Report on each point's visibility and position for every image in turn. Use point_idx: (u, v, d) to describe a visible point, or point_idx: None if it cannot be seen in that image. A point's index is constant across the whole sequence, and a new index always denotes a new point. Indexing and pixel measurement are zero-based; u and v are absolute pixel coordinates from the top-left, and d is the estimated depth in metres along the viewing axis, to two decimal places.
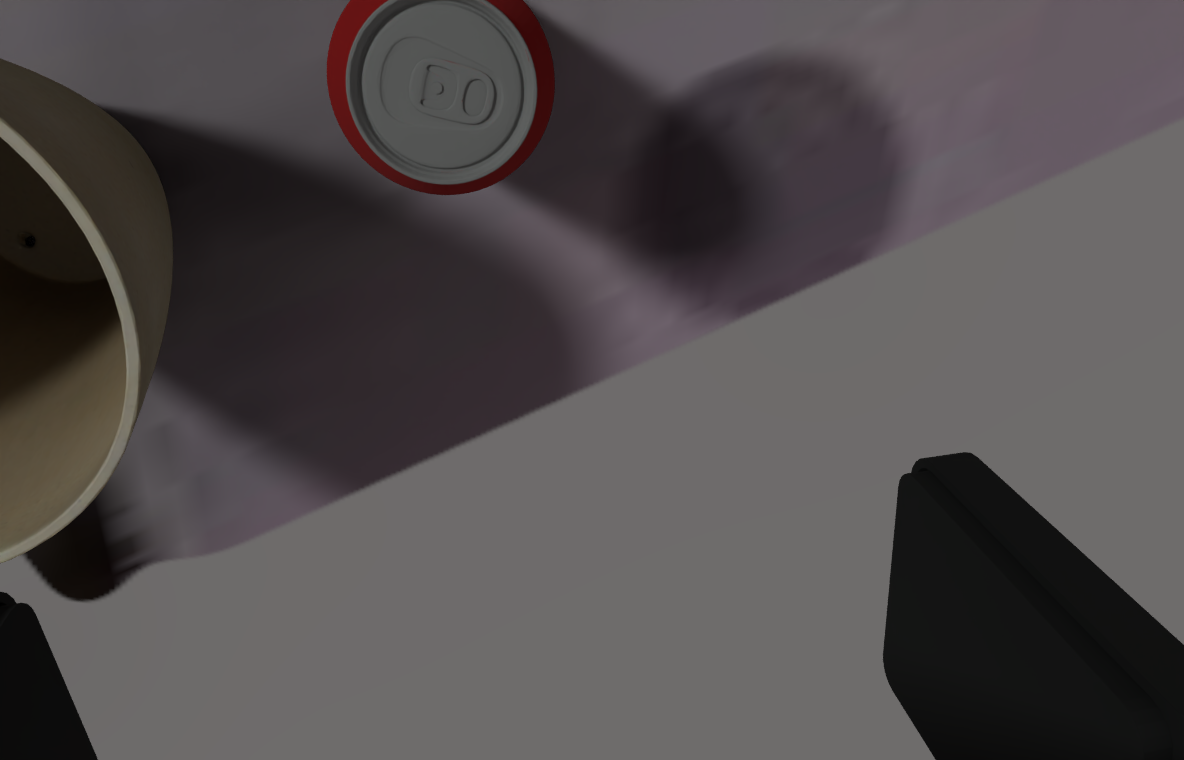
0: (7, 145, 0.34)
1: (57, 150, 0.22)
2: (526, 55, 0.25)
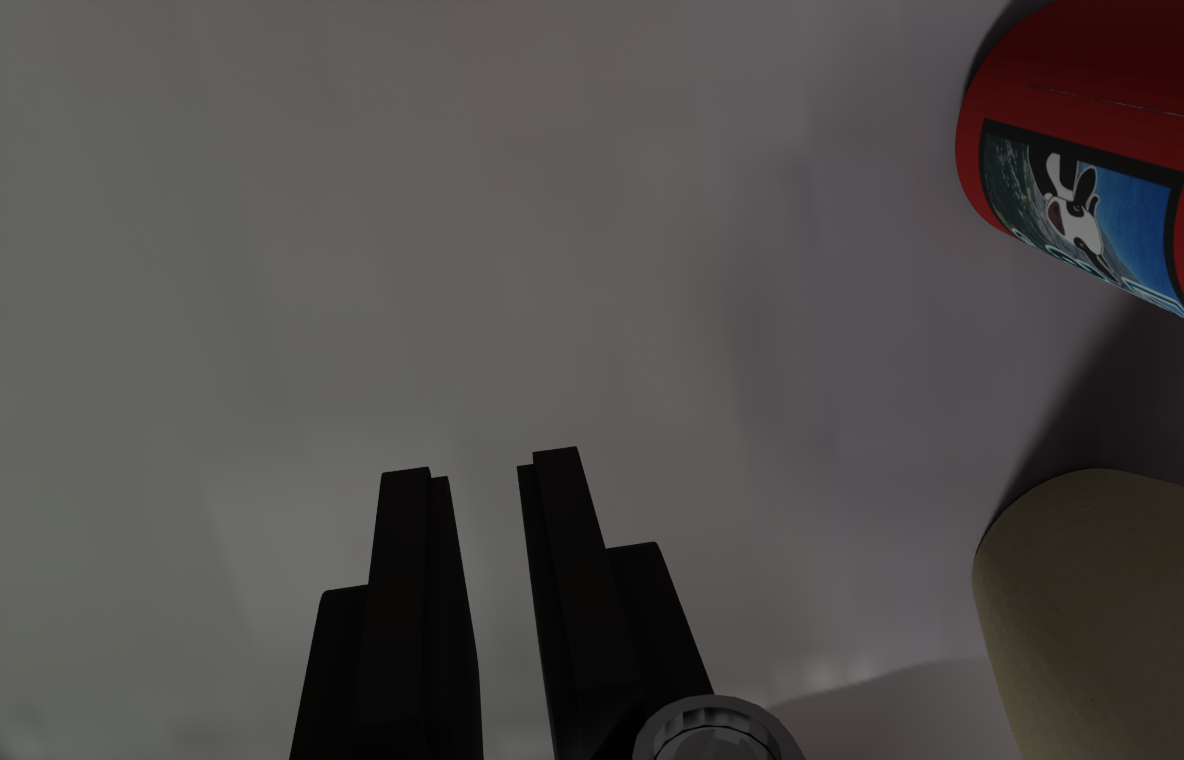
0: None
1: None
2: None
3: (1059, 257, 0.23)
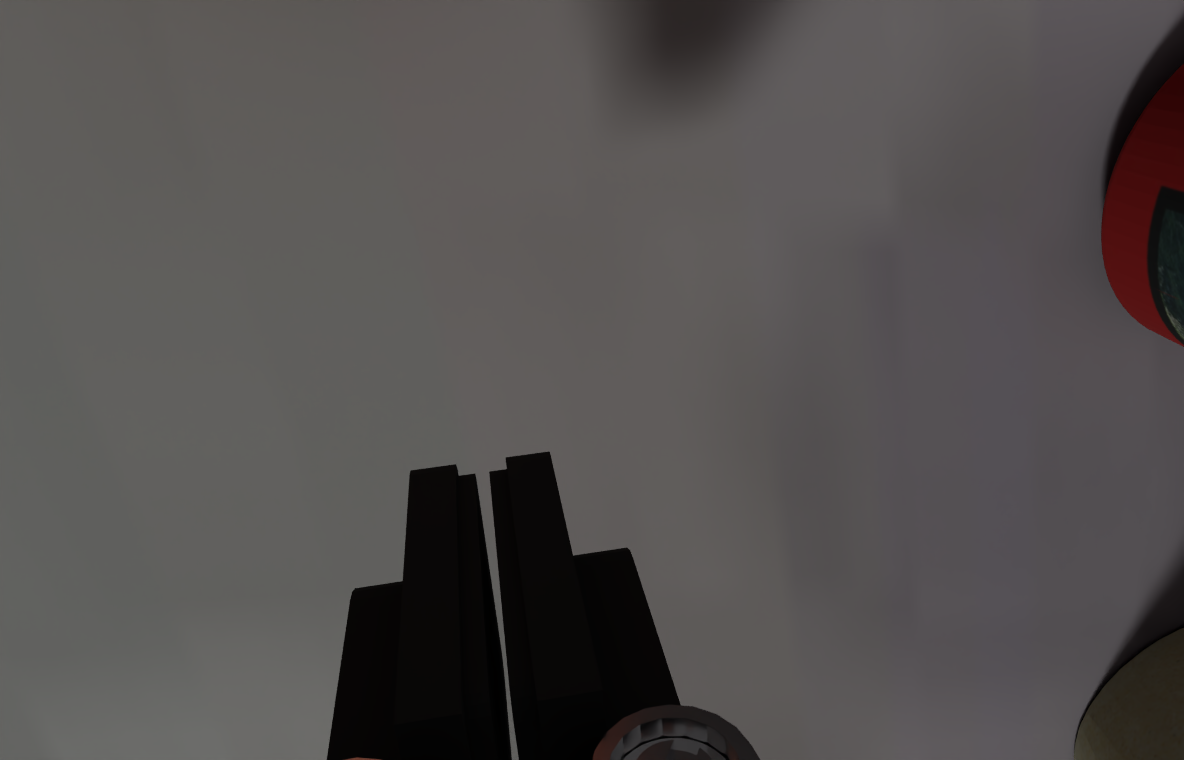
0: None
1: None
2: None
3: None
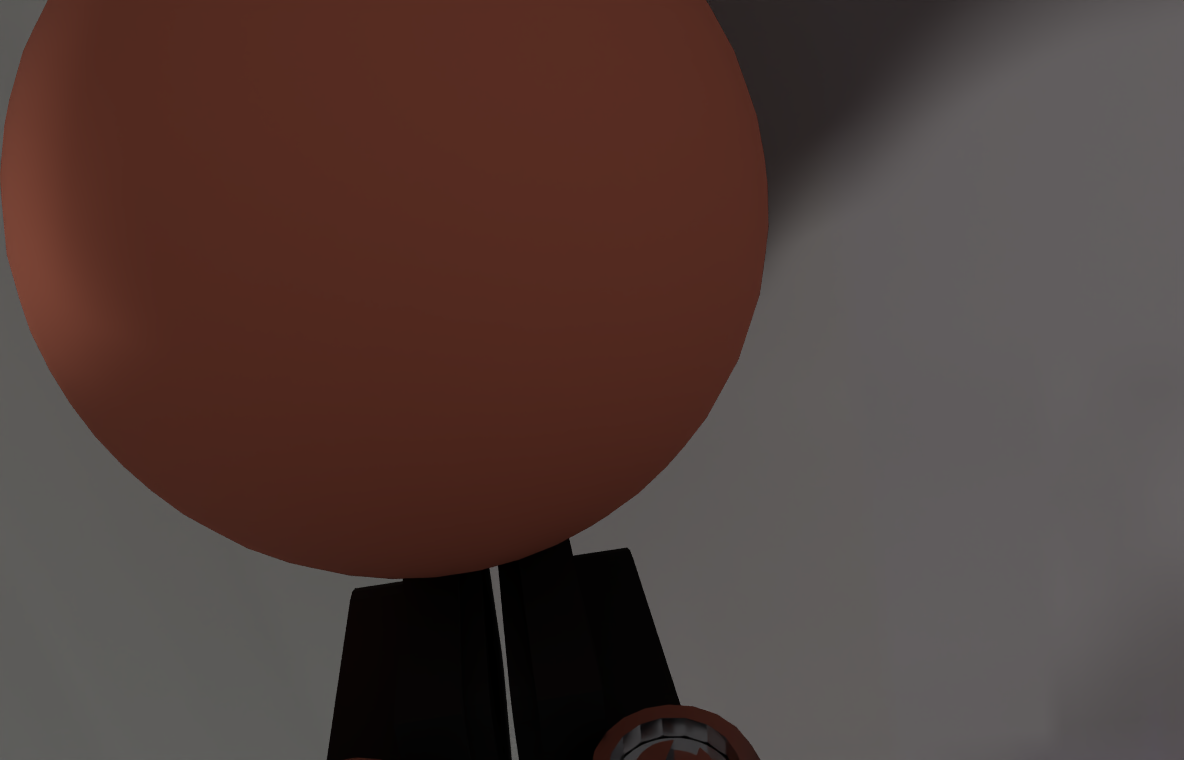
0: None
1: None
2: None
3: None
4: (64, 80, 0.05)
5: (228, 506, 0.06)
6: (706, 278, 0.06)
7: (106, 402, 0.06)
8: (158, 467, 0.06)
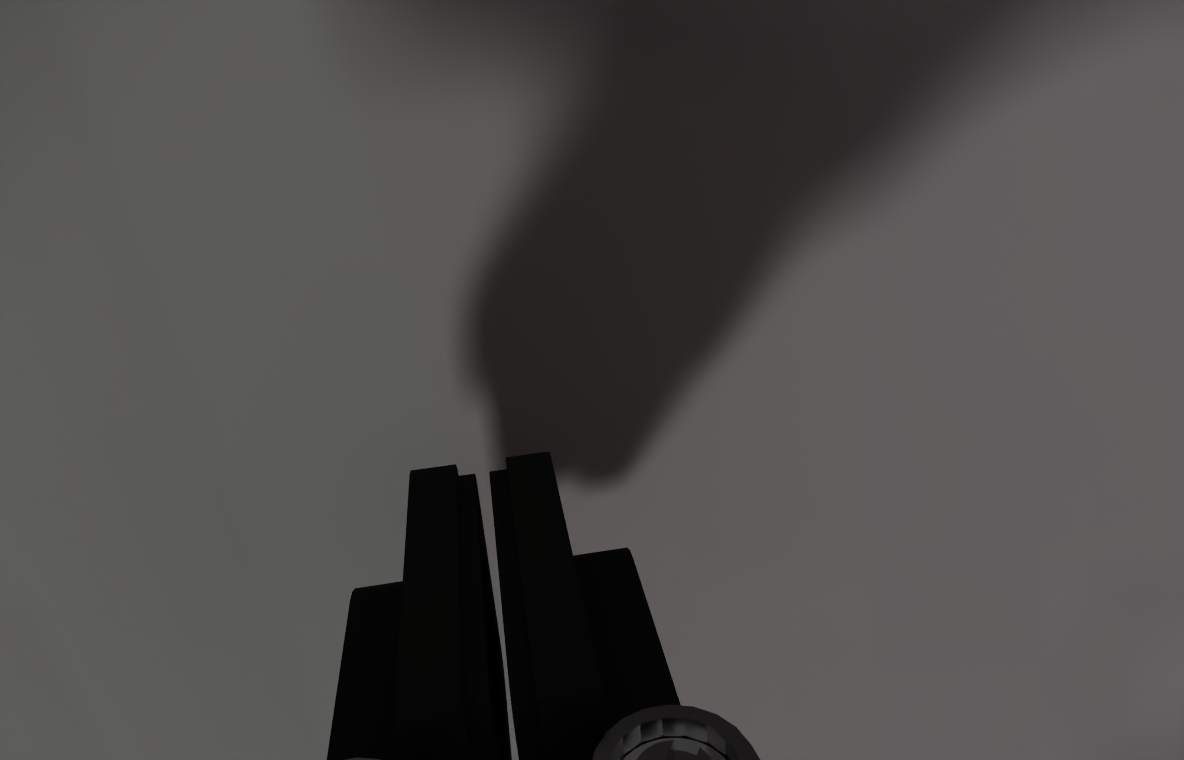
0: None
1: None
2: None
3: None
4: None
5: None
6: None
7: None
8: None
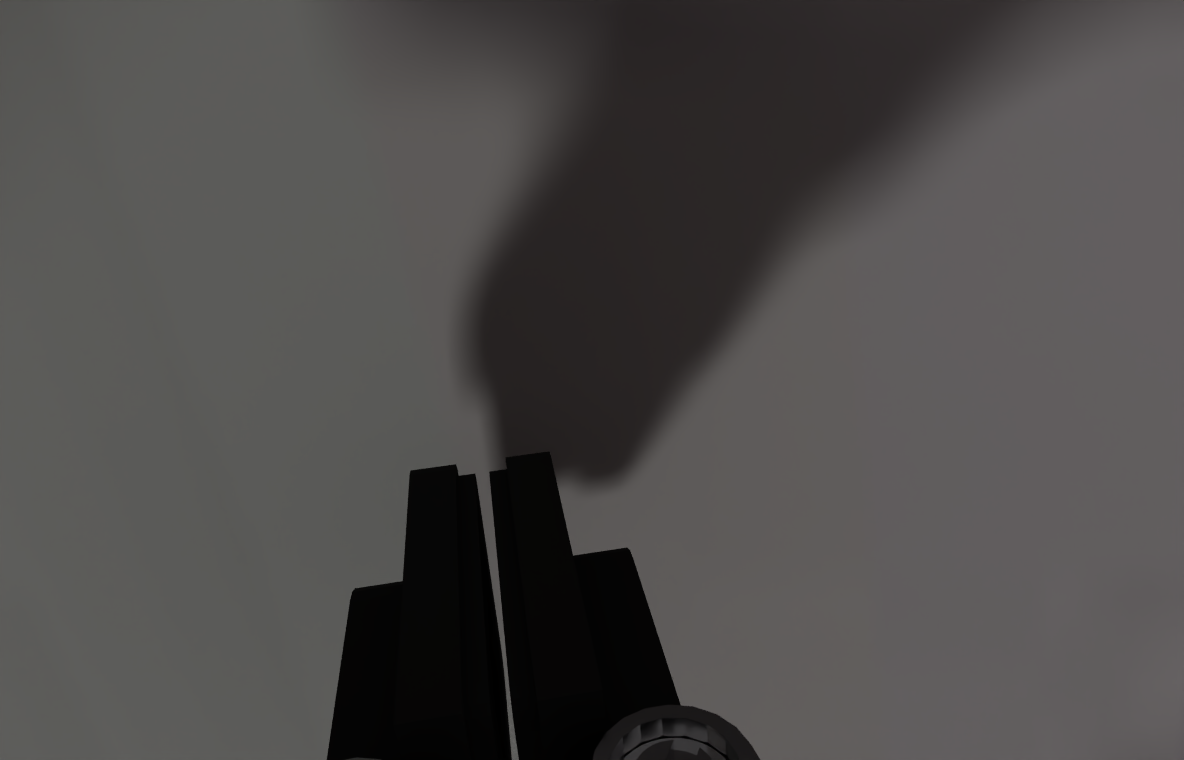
0: None
1: None
2: None
3: None
4: None
5: None
6: None
7: None
8: None
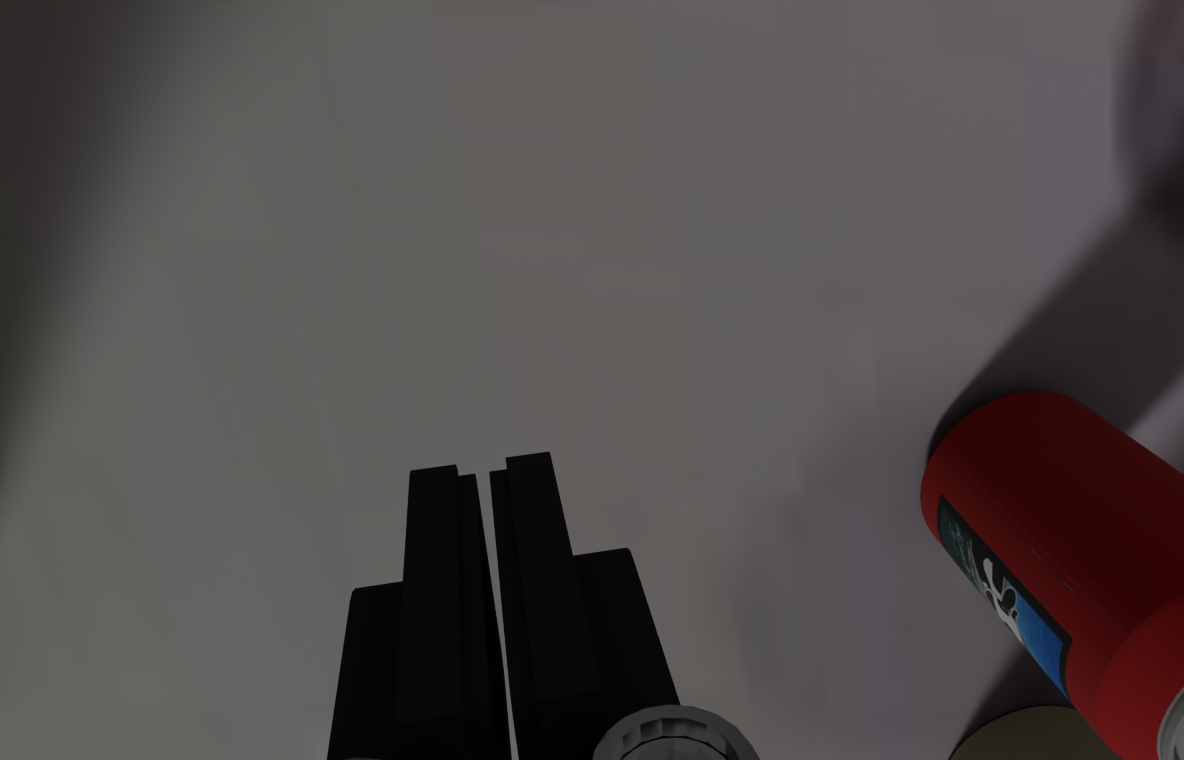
0: None
1: None
2: None
3: None
4: None
5: None
6: None
7: None
8: None
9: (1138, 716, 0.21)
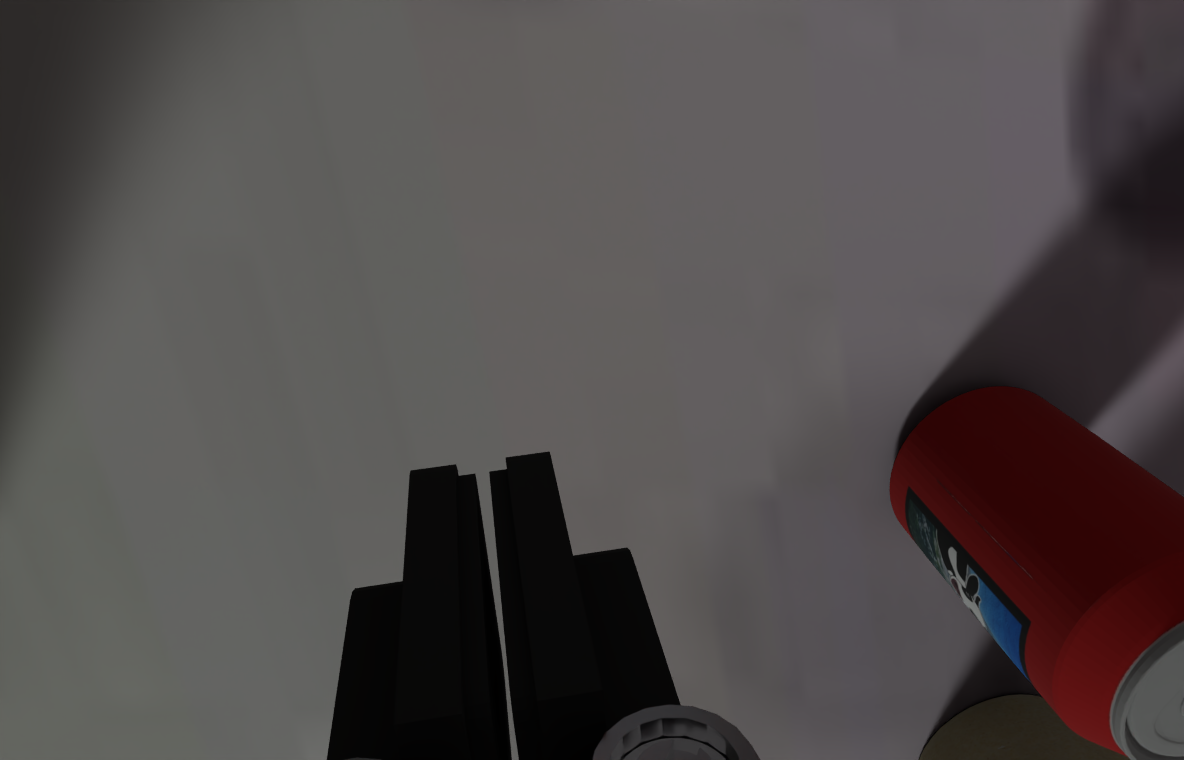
0: None
1: None
2: None
3: None
4: None
5: None
6: None
7: None
8: None
9: (1092, 693, 0.22)
